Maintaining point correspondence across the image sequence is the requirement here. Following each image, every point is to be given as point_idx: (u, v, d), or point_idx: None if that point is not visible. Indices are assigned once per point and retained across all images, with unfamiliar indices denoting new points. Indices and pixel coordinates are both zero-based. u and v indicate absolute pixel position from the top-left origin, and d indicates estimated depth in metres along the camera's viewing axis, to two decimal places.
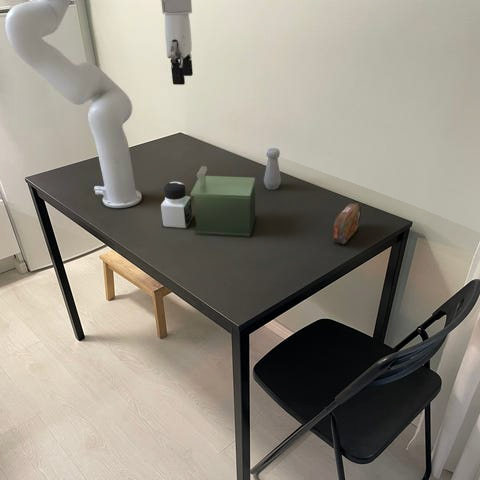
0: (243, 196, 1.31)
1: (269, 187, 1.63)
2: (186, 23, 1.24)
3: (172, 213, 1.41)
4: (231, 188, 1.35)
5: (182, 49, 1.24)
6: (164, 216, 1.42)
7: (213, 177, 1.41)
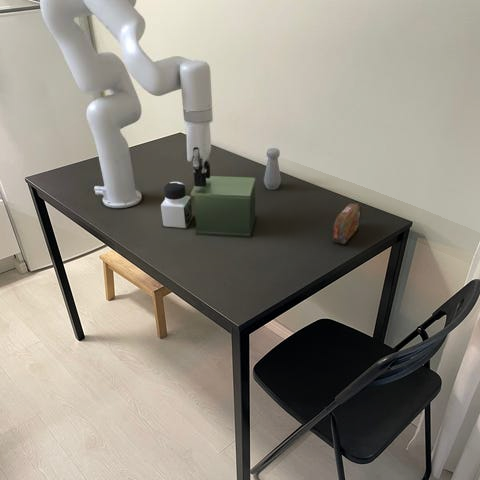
0: (243, 196, 1.31)
1: (269, 187, 1.63)
2: (207, 130, 1.26)
3: (172, 213, 1.41)
4: (231, 188, 1.35)
5: (203, 155, 1.27)
6: (164, 216, 1.42)
7: (213, 177, 1.41)
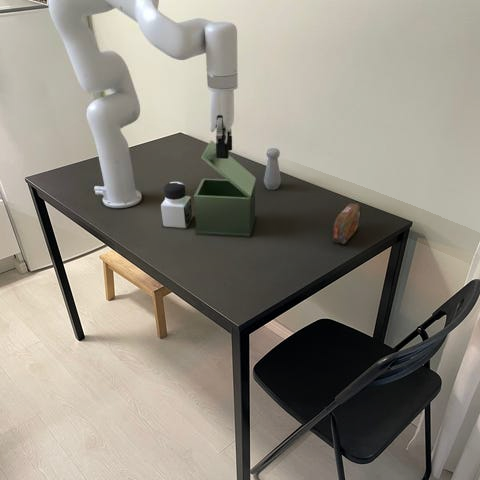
0: (245, 192, 1.31)
1: (269, 187, 1.63)
2: (231, 98, 1.20)
3: (172, 213, 1.41)
4: (236, 176, 1.32)
5: (227, 124, 1.21)
6: (164, 216, 1.42)
7: None
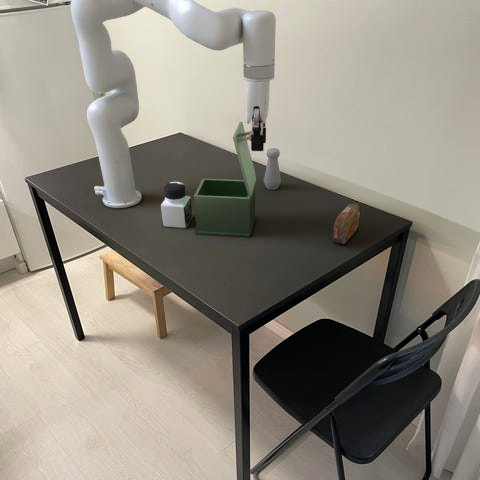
0: (248, 191, 1.30)
1: (269, 187, 1.63)
2: (268, 88, 1.18)
3: (172, 213, 1.41)
4: (248, 170, 1.31)
5: (264, 116, 1.19)
6: (164, 216, 1.42)
7: None
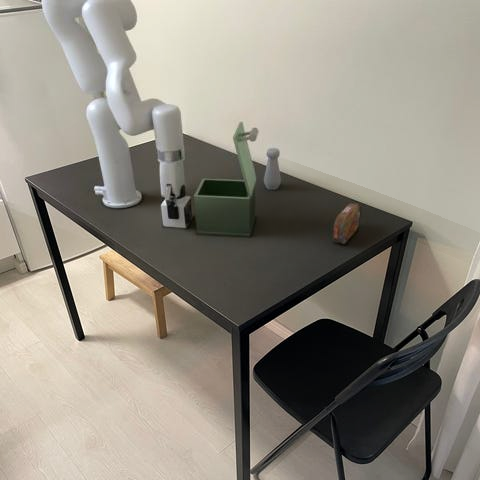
0: (248, 191, 1.30)
1: (269, 187, 1.63)
2: (179, 168, 1.35)
3: None
4: (248, 170, 1.31)
5: (176, 191, 1.35)
6: (164, 216, 1.42)
7: None
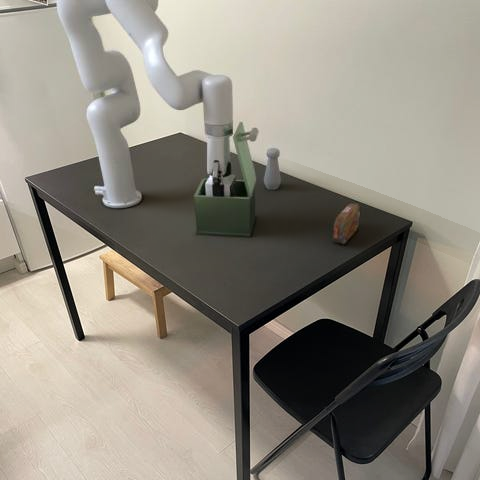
0: (248, 191, 1.30)
1: (269, 187, 1.63)
2: (227, 143, 1.28)
3: None
4: (248, 170, 1.31)
5: (223, 168, 1.29)
6: (208, 195, 1.36)
7: None
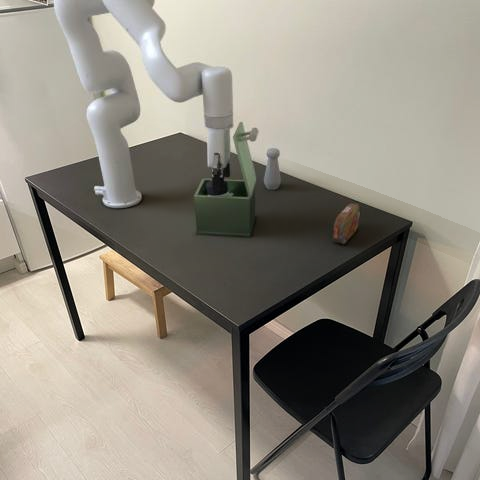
0: (248, 191, 1.30)
1: (269, 187, 1.63)
2: (227, 136, 1.27)
3: None
4: (248, 170, 1.31)
5: (224, 161, 1.27)
6: None
7: None
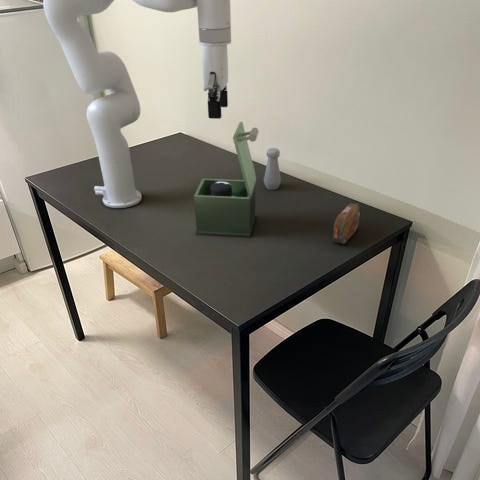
0: (248, 191, 1.30)
1: (269, 187, 1.63)
2: (225, 54, 1.15)
3: None
4: (248, 170, 1.31)
5: (221, 82, 1.15)
6: None
7: None
